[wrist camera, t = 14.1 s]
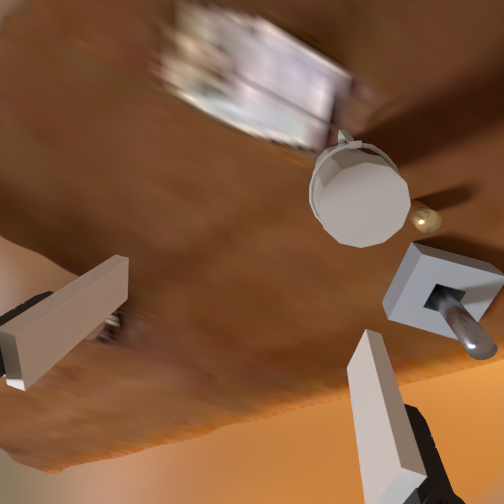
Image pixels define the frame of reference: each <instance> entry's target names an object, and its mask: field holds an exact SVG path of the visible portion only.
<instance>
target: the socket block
mask: <svg viewBox="0 0 504 504" xmlns="http://www.w3.org/2000/svg"><path fill="white" fill-rule="evenodd" d="M436 284H440V285H443V286H447V287H448V288H449V289H450V291H451V292H452V293H453V294H454V295H455V297H456V298H457V299H458V300H459V301H460V302H461V304H462V305H463V306H464V307H465V308H466V310H467V311H468V312H469V313H470V314H471V315H472V317H473V318H474V319H475V320H476V321H477V322H478V321H479V320H480V318H481V317H482V315H483V314H484V312H485V311H486V309H487V308H488V306H489V305H490V304H491V302H492V301H493V299H494V298H495V296H496V295H497V293H498V292H499V291H500V289H501V288H502V286H503V285H504V273H502V272H501V271H500V270H498V269H497V268H496V267H494V266H493V265H492V264H490V263H489V262H485V261H481V260H477V259H474V258H470V257H466V256H462V255H459V254H455V253H451V252H447V251H444V250H440V249H436V248H432V247H429V246H425V245H421V244H417V243H413V242H411V244H410V246H409V248H408V250H407V252H406V254H405V256H404V258H403V260H402V262H401V265H400V267H399V269H398V271H397V273H396V275H395V277H394V279H393V281H392V283H391V285H390V287H389V289H388V291H387V293H386V295H385V297H384V299H383V301H382V304H383V307H384V310H385V312H386V315H387V317H388V319H389V320H392V321H396V322H399V323H403V324H406V325H409V326H413V327H416V328H420V329H423V330H426V331H430V332H433V333H437V334H440V335H444V336H447V337H450V338H454V339H457V340H458V338H457V337H456V335H455V334H454V332H453V331H452V330H451V328H450V327H449V325H448V324H447V322H446V321H445V319H444V318H443V316H442V315H441V314H440V312H439V311H438V309H437V308H436V306H435V305H434V303H433V302H432V300H431V299H430V298H429V295H430V294H431V292H432V290H433V288H434V287H435V285H436Z"/></svg>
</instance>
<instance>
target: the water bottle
mask: <svg viewBox="0 0 504 504" xmlns="http://www.w3.org/2000/svg"><path fill="white" fill-rule="evenodd" d="M345 139H346V141H347V142H348V144H347V143H345ZM338 142H339V144H338V145H335V146H332V147H330V148H327V149H325V151H324V152H323V153H322V154H321V155H320V156H319V157H318V158H317V161H316V165H315V169H314V172H313V176H312V179H311V183H310V187H309V200H310V205H311V207H312V210H313V212H314V215H315V216H316V217H317V219H318V220H319V221H320V222H321V223H322V225H323V227H324V229H325V230H326V231H327V232H328V233H329V234H330V235H331V236H332V237H334V238H335V239H336V240H337V241H338V242H339V243H342V244H346V245H350V246H355V247H359V248H363V247H367V246H371V245H375V244H379V243H383V242H385V241H386V240H387V239H388V238H390V237H391V236H392V235H393V234H394V233H396V232H397V231H398V230H399V229H401V228H402V226H403V224H404V221H405V219H406V216H407V214H408V211H409V209H410V207H411V203H410V198H409V193H408V187H407V183H406V182H405V181H404V179H403V178H402V177H401V176H400V175H399V172H398V169H397V166H396V165H395V164H394V163H393V162H392V160H391V159H390V158H389V157H388V155H387V154H386V153H384V152H383V151H381V150H380V149H378V148H377V147H375V146H374V145H372V144H366V143H362V141H355V140H354V139H353V138H352V136H351V135H350V134H349V132H348V131H347V130H346V129H343V130H339V133H338ZM362 147H363V148H367V149H371V150H372V151H374V152H376V153H378V154H379V155H380V156H375V155H370V154H367V153H365V152H363V151H360V150H358V149H356V148H362ZM382 157H383V158H384V159H385V160H386V161H387V162H388V163H389V164H388V163H387V162H386V161H385V160H384V159H383V158H382ZM313 186H314V192H313ZM313 201H314V203H313ZM314 205H315V206H314Z"/></svg>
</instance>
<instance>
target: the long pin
mask: <svg viewBox="0 0 504 504" xmlns="http://www.w3.org/2000/svg"><path fill="white" fill-rule="evenodd" d="M429 298H430V299H431V300H432V302H433V303H434V305H435V306H436V308H437V309H438V311H439V312H440V314H441V315H442V316H443V318H444V319H445V321H446V322H447V324H448V325H449V327H450V328H451V330H452V331H453V332H454V334H455V335H456V337H457V338H458V340H459V341H460V343H461V344H462V346H463V347H464V348H465V350H466V351H467V353H468V354H469V356H470V357H472V358H474V359H477V360H485V359H489V358H491V357H493V356H494V355H495V354H496V352H497V345H496V344H495V343H494V341H493V340H492V339H491V338H490V337H489V335H488V334H487V333H486V332H485V331H484V330H483V328H482V327H481V326H480V325H479V324H478V322H477V321H476V320H475V319H474V318H473V317H472V315H471V314H470V313H469V312H468V311H467V310H466V308H465V307H464V306H463V305H462V304H461V302H460V301H459V300H458V299H457V298H456V297H455V295H454V294H453V293H452V292H451V291H450V289H449V288H448V287H447V286H443V285H440V284H436V285H435V287H434V288H433V290H432V292H431V294H430V295H429Z"/></svg>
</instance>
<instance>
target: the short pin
mask: <svg viewBox="0 0 504 504" xmlns="http://www.w3.org/2000/svg"><path fill="white" fill-rule="evenodd" d="M410 203H411V207H410V209H409V211H408V214H407V216H406V218H407V219H408V220H409V221H410V222H411V223H412V224H413V225H414V226H415V227H416V228H417V229H418V230H419V231H421V232H423V233H431V232H434V231H436V230H437V229H438V228H439V227H440V226H441V223H442V218H441V216H440V215H439V214H438V213H437V212H435V211H434V210H432V209H431V208H429V207H428V206H426V205H425V204H423V203H422V202H421V201H419V200H410Z"/></svg>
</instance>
